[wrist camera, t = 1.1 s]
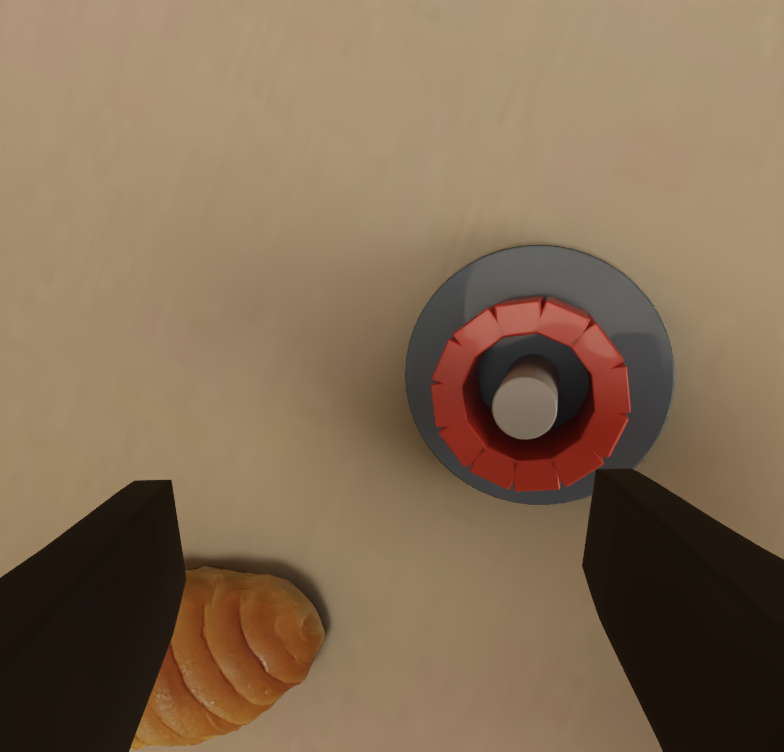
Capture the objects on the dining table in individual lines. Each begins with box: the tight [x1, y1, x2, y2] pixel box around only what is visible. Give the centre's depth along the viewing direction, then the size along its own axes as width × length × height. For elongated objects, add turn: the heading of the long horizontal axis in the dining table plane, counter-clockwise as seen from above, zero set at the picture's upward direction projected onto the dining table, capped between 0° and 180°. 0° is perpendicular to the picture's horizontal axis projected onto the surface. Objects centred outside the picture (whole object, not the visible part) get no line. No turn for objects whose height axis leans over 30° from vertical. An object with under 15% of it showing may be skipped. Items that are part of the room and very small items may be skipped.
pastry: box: [131, 566, 325, 750], centre depth 25 cm, size 9×7×4 cm
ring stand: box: [405, 245, 674, 505], centre depth 19 cm, size 8×8×6 cm
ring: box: [431, 295, 631, 492], centre depth 19 cm, size 5×5×3 cm
